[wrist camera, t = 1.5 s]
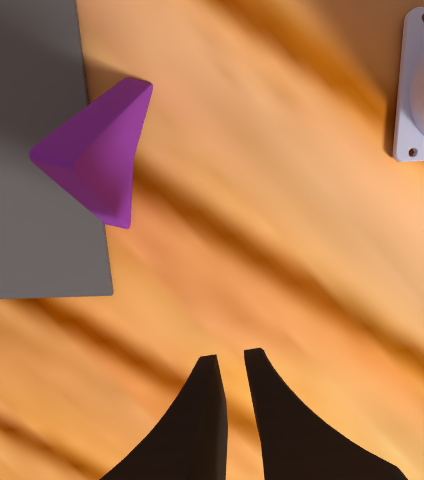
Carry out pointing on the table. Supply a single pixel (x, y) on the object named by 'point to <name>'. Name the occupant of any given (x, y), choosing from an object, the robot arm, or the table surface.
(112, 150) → the arrowhead
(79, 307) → the table surface
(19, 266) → the mat
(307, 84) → the table surface
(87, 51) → the table surface
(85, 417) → the table surface
